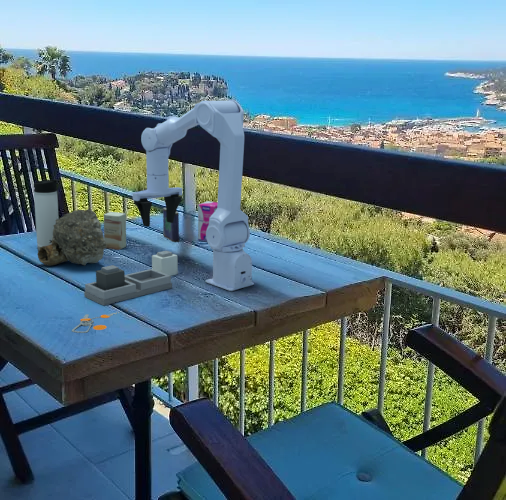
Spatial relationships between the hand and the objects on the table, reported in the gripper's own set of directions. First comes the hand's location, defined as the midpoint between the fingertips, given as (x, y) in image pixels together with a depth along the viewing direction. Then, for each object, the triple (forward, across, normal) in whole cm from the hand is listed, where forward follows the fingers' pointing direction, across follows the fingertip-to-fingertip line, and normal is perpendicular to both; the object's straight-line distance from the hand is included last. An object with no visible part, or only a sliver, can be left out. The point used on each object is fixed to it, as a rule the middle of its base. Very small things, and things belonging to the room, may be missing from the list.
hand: (158, 224), depth 182 cm
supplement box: (+10, -25, -9) cm, 28 cm away
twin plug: (+9, +26, +19) cm, 33 cm away
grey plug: (+10, +6, +12) cm, 17 cm away
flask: (+10, -16, -18) cm, 26 cm away
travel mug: (+10, +18, -29) cm, 35 cm away
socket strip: (+10, +21, +19) cm, 30 cm away
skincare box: (+10, +3, -18) cm, 21 cm away
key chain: (+11, +36, +30) cm, 48 cm away
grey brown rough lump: (+10, +20, -12) cm, 26 cm away
